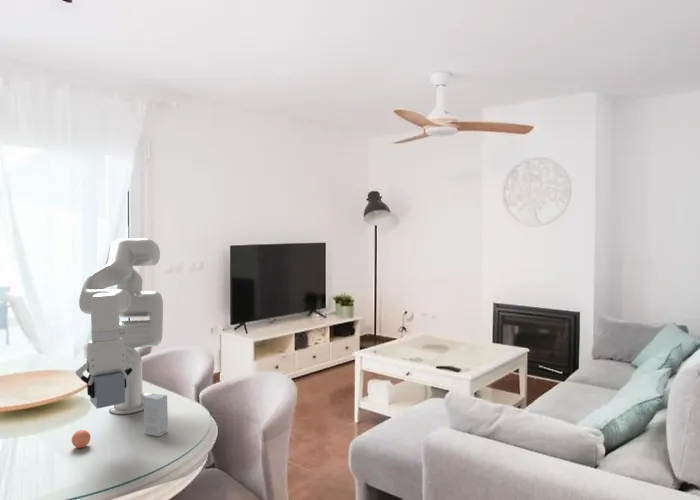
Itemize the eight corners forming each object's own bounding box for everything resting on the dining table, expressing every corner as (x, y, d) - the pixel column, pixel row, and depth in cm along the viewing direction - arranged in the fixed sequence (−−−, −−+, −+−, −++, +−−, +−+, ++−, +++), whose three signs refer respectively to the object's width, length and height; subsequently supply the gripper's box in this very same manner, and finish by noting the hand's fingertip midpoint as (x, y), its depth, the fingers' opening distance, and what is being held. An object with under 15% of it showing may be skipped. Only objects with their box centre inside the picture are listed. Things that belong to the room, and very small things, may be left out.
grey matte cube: (117, 395, 160) (116, 367, 159) (125, 402, 154) (124, 373, 153) (90, 400, 155) (89, 371, 154) (96, 408, 149) (96, 378, 148)
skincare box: (168, 431, 167) (167, 395, 166) (159, 437, 163) (158, 399, 162) (152, 429, 169) (152, 392, 168) (143, 434, 165) (143, 397, 164)
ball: (88, 441, 159) (88, 425, 159) (92, 447, 155) (91, 431, 155) (70, 446, 156) (69, 429, 156) (73, 452, 152) (73, 435, 152)
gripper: (132, 329, 161) (133, 384, 163) (70, 337, 150) (71, 396, 152) (140, 333, 155) (141, 391, 157) (75, 342, 144) (77, 404, 146)
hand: (107, 393), depth 154 cm, fingers closed on grey matte cube, 7 cm apart
